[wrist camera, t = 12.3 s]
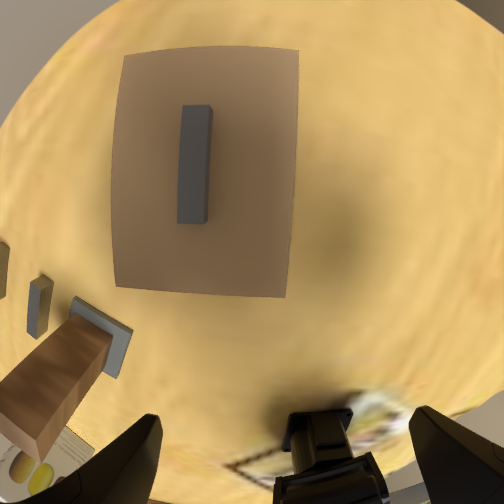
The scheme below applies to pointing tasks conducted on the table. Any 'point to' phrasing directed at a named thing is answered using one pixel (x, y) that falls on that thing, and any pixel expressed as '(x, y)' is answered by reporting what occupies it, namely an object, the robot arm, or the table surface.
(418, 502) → the tray
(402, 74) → the table surface
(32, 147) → the table surface
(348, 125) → the table surface
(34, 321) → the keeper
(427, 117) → the table surface
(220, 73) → the toolbox
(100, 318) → the pad
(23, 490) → the supplement box
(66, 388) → the brown block
